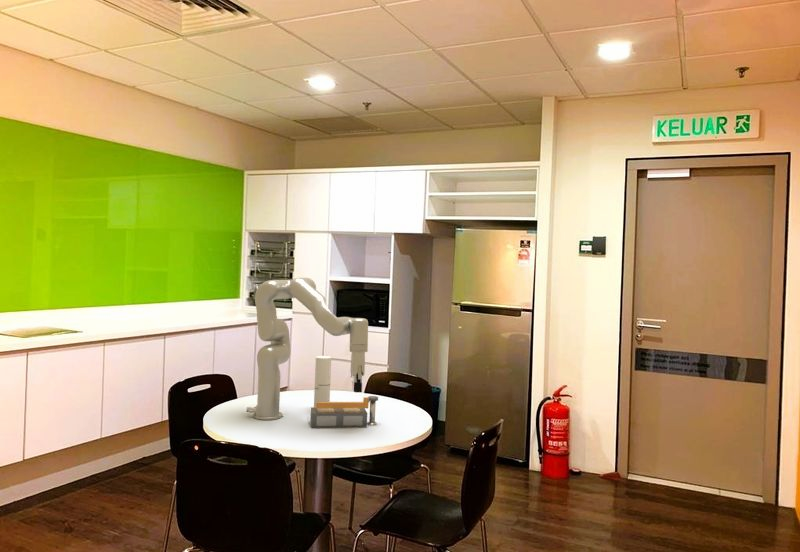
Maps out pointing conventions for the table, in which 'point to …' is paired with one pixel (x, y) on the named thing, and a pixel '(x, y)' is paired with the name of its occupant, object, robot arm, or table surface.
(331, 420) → the block
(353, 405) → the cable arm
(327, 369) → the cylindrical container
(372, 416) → the post
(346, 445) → the table surface
